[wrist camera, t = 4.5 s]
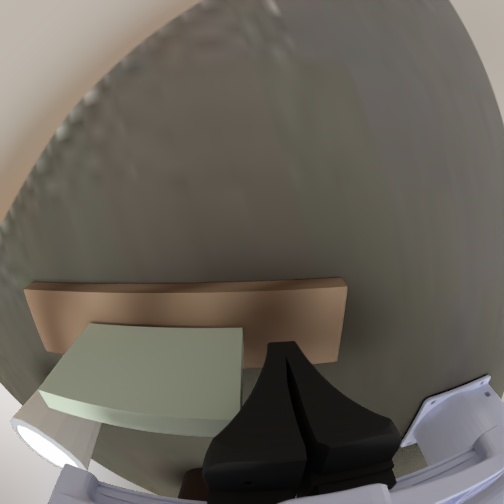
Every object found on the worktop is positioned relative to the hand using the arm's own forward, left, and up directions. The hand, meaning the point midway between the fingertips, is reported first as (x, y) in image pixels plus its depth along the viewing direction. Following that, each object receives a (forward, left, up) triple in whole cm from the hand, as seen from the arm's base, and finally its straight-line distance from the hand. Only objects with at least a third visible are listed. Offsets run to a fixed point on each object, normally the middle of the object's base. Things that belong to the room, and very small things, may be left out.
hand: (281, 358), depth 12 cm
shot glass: (+16, +8, -4) cm, 19 cm away
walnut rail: (+6, 0, -3) cm, 7 cm away
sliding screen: (+6, 0, -2) cm, 7 cm away
